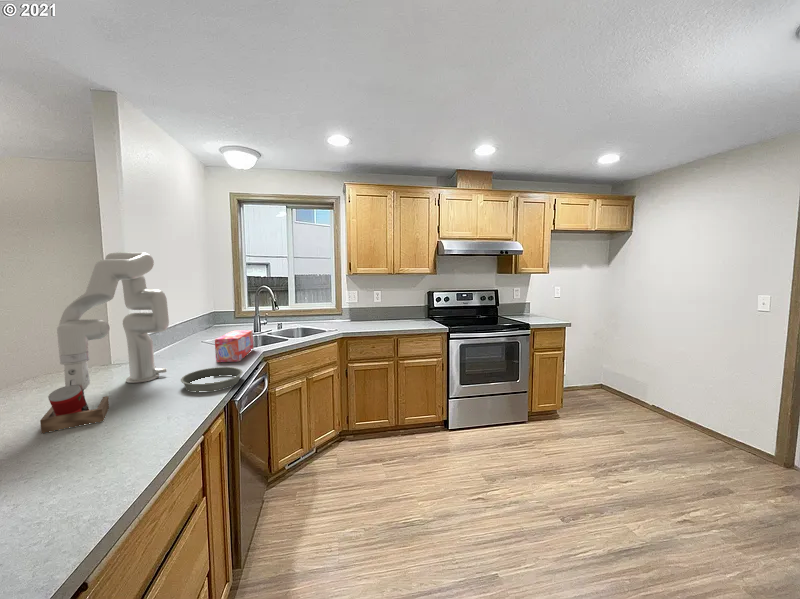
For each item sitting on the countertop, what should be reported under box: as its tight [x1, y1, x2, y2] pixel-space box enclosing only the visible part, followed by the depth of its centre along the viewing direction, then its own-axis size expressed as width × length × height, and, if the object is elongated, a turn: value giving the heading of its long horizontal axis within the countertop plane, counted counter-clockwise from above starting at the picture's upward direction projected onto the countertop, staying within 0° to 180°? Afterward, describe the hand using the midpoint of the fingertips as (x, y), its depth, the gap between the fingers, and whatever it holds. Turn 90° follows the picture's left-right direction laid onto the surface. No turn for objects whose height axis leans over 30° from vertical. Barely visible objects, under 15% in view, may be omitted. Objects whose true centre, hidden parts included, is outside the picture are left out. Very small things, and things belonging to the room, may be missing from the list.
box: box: [214, 329, 255, 363], centre depth 199 cm, size 27×13×14 cm, turn 7°
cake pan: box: [180, 366, 244, 393], centre depth 154 cm, size 25×25×4 cm
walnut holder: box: [39, 395, 110, 434], centre depth 118 cm, size 15×14×4 cm
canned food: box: [47, 385, 90, 416], centre depth 115 cm, size 8×8×11 cm
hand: (79, 407), depth 121 cm, fingers closed
